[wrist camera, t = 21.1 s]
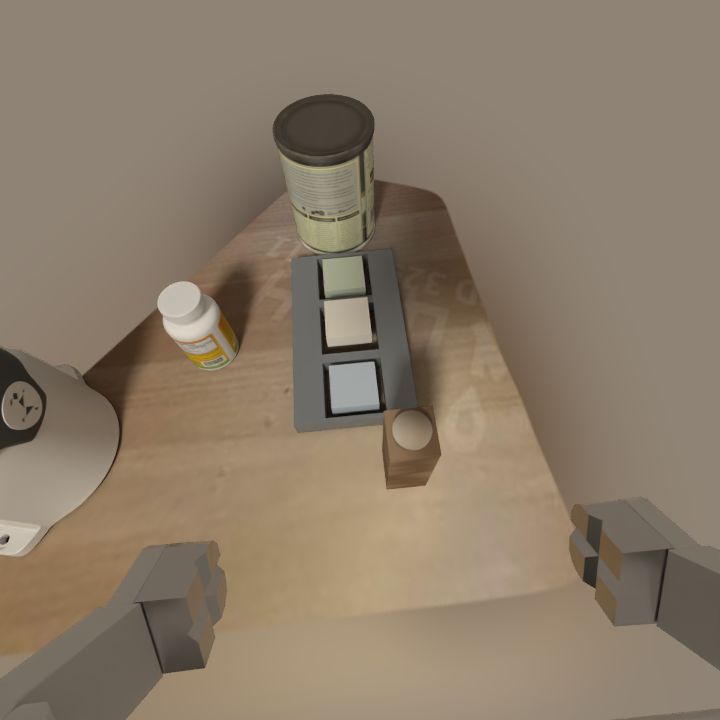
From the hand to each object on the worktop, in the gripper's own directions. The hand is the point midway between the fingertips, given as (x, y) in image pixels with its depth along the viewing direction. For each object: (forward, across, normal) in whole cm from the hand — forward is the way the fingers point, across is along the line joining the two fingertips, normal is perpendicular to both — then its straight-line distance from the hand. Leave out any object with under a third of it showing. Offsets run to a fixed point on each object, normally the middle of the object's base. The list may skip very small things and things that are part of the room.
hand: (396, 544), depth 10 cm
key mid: (+36, +1, +3) cm, 36 cm away
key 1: (+32, +1, +9) cm, 33 cm away
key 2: (+42, +1, -1) cm, 42 cm away
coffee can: (+49, +2, -8) cm, 50 cm away
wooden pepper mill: (+27, -3, +15) cm, 31 cm away
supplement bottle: (+37, +16, +4) cm, 41 cm away
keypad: (+37, +1, +4) cm, 38 cm away
